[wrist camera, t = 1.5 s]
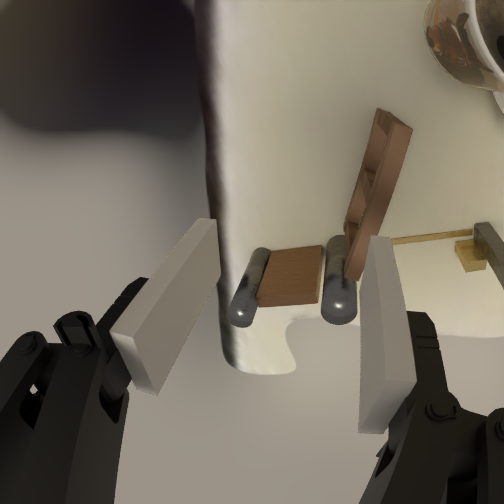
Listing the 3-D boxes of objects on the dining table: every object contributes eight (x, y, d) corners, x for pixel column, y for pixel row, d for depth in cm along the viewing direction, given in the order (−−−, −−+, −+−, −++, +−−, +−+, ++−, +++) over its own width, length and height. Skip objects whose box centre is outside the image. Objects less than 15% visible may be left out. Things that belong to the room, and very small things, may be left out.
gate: (354, 228, 31) (358, 281, 24) (343, 225, 31) (343, 277, 24) (389, 112, 24) (412, 129, 17) (376, 108, 24) (395, 123, 17)
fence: (472, 219, 27) (510, 274, 19) (471, 243, 29) (503, 302, 21) (249, 246, 36) (221, 305, 28) (256, 269, 37) (232, 330, 29)
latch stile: (488, 222, 27) (527, 277, 19) (486, 246, 28) (520, 305, 20) (456, 226, 28) (489, 283, 20) (455, 251, 30) (483, 312, 22)
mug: (520, 21, 15) (587, 16, 6) (504, 126, 21) (569, 159, 12) (427, -24, 16) (470, -62, 7) (412, 88, 23) (455, 100, 14)
